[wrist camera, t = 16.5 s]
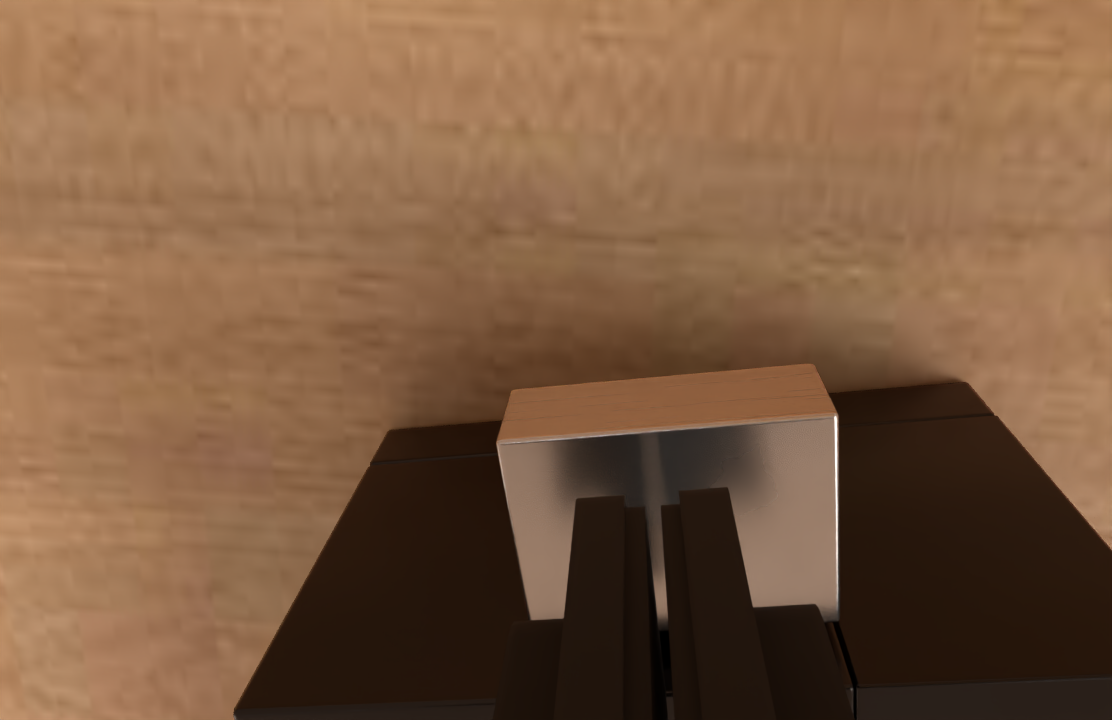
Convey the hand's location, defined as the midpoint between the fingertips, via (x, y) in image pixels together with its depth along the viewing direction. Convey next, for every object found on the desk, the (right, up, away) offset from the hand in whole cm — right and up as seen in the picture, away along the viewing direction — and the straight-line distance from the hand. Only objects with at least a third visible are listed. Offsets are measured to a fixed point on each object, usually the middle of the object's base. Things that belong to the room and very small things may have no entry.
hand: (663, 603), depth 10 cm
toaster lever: (0, +1, +2) cm, 3 cm away
